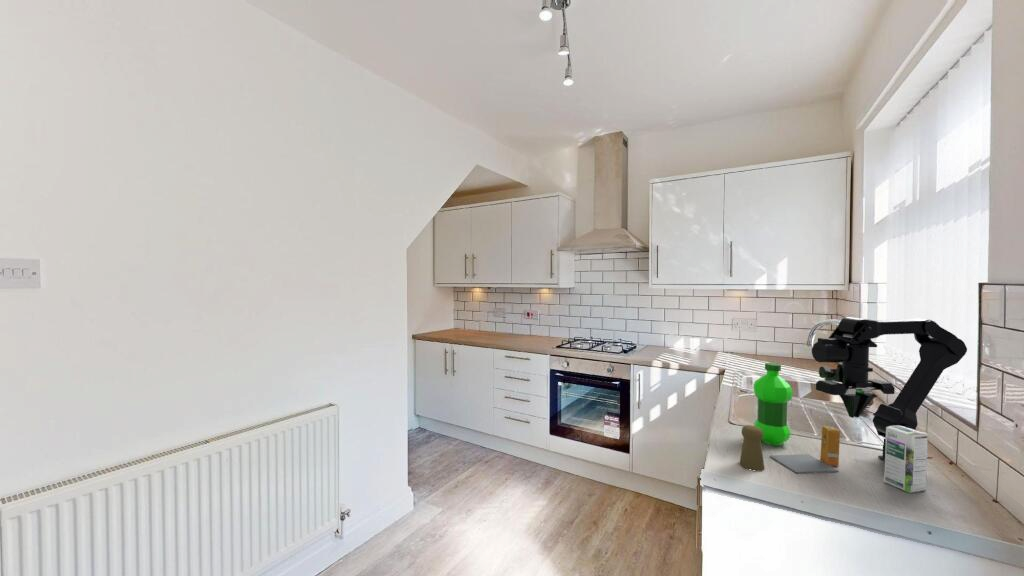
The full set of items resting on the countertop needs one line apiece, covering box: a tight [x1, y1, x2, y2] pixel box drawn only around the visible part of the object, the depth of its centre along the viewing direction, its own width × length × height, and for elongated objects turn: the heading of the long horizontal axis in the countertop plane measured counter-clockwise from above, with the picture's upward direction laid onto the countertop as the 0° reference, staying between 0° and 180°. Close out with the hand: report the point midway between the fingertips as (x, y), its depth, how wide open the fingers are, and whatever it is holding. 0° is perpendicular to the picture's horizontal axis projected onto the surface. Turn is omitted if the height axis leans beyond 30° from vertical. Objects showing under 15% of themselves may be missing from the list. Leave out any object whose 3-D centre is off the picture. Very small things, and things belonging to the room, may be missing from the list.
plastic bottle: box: [752, 362, 793, 446], centre depth 127 cm, size 10×10×25 cm
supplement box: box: [819, 425, 841, 467], centre depth 113 cm, size 3×3×10 cm
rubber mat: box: [769, 453, 839, 474], centre depth 113 cm, size 12×10×1 cm
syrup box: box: [883, 425, 929, 494], centre depth 100 cm, size 6×6×14 cm
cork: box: [739, 424, 765, 472], centre depth 111 cm, size 6×6×11 cm
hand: (853, 417), depth 113 cm, fingers closed
